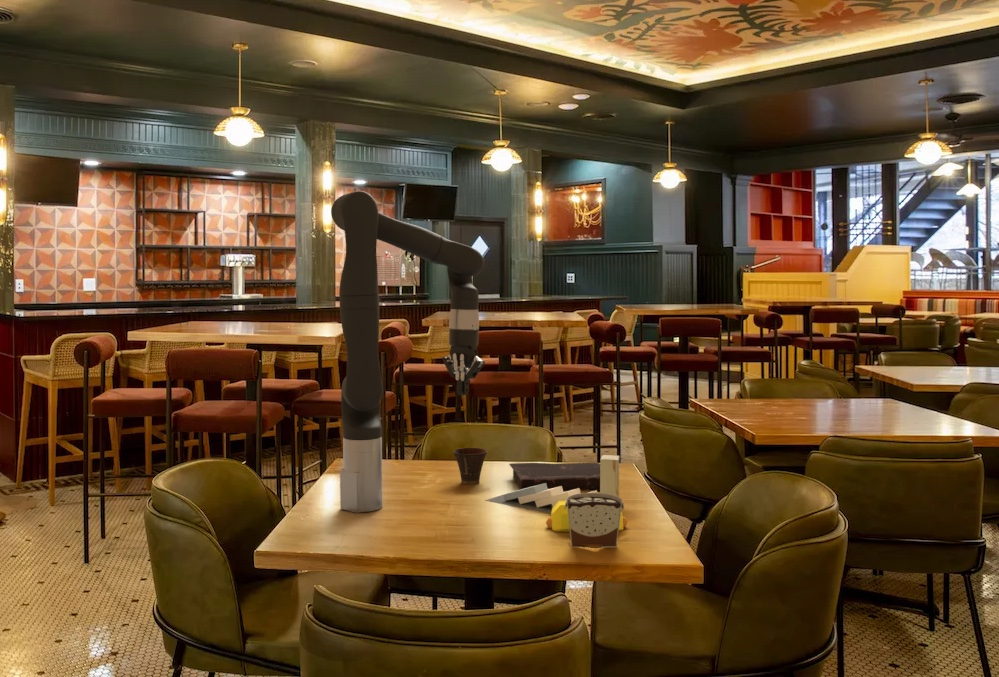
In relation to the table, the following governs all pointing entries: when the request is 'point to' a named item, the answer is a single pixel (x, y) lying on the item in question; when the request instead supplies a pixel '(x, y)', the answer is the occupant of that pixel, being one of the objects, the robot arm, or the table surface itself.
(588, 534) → the food container
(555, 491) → the domino
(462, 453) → the cup
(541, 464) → the diary
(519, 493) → the domino
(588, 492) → the domino
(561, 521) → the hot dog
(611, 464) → the skincare box
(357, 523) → the table surface
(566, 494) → the domino
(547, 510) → the mat
